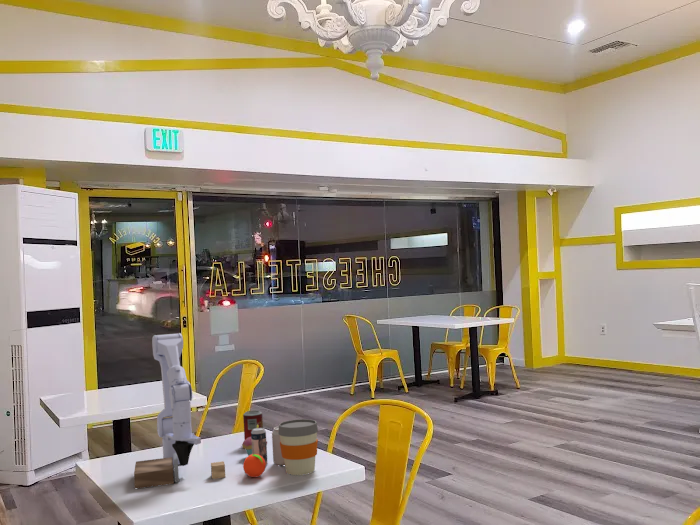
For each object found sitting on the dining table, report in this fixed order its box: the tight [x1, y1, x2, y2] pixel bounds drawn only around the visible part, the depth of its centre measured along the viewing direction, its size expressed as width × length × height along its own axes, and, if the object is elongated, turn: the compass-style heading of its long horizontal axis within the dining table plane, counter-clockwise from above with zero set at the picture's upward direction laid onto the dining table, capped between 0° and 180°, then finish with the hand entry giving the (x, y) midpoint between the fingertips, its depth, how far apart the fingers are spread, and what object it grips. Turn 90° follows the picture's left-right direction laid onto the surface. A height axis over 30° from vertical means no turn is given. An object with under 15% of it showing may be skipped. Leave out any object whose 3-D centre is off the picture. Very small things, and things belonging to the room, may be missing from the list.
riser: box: [210, 460, 226, 480], centre depth 208 cm, size 4×4×4 cm
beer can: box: [251, 427, 268, 466], centre depth 217 cm, size 5×5×12 cm
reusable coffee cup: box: [278, 418, 319, 476], centre depth 209 cm, size 12×13×15 cm
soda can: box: [242, 410, 264, 441], centre depth 247 cm, size 7×7×12 cm
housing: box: [133, 457, 175, 489], centre depth 208 cm, size 15×11×4 cm
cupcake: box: [241, 425, 268, 457], centre depth 229 cm, size 9×8×12 cm
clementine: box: [242, 454, 267, 478], centre depth 205 cm, size 8×7×7 cm
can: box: [271, 425, 285, 467], centre depth 219 cm, size 8×8×12 cm
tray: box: [173, 453, 180, 483], centre depth 209 cm, size 14×12×6 cm
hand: (184, 464), depth 211 cm, fingers closed
